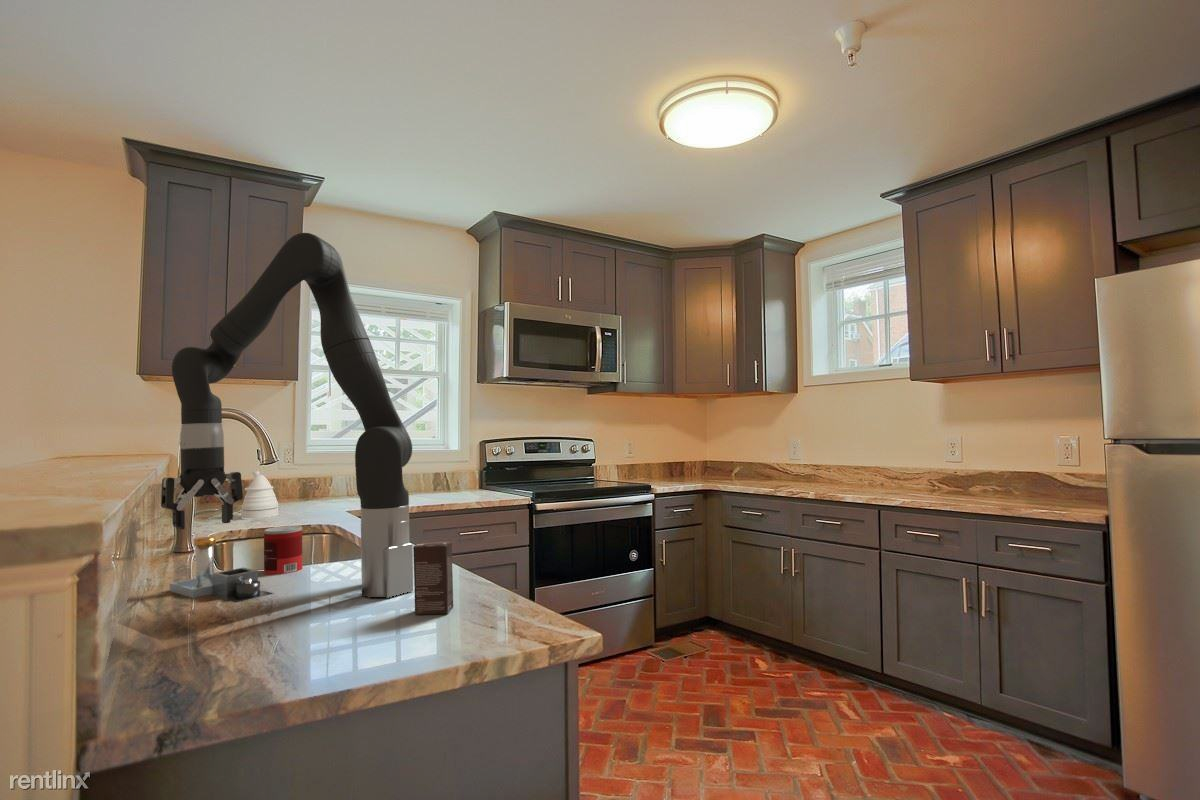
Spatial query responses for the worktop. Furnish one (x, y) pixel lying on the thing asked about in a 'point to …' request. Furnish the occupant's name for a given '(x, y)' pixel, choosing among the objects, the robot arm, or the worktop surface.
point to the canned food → (282, 550)
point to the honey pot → (259, 499)
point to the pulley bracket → (237, 585)
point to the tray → (186, 589)
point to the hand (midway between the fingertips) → (204, 526)
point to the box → (433, 578)
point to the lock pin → (204, 561)
